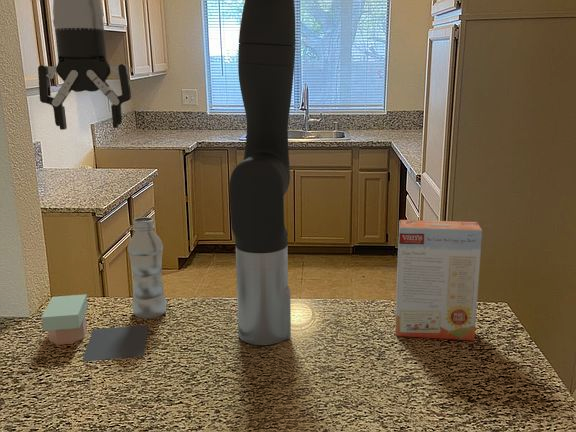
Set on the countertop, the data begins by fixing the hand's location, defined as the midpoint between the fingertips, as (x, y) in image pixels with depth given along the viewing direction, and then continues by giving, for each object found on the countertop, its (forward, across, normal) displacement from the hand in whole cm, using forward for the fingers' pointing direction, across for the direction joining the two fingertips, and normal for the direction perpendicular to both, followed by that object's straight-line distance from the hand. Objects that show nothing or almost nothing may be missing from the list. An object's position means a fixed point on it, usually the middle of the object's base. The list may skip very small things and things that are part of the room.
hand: (89, 128), depth 95 cm
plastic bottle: (+38, -7, -6) cm, 39 cm away
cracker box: (+38, -59, +11) cm, 71 cm away
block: (+33, +7, +2) cm, 34 cm away
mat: (+38, -2, +6) cm, 38 cm away
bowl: (+38, +7, +2) cm, 39 cm away
